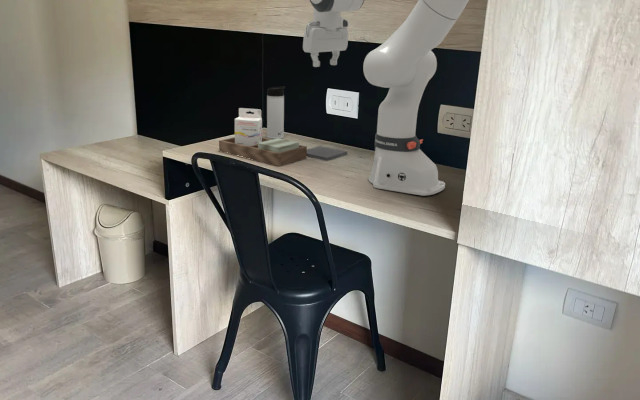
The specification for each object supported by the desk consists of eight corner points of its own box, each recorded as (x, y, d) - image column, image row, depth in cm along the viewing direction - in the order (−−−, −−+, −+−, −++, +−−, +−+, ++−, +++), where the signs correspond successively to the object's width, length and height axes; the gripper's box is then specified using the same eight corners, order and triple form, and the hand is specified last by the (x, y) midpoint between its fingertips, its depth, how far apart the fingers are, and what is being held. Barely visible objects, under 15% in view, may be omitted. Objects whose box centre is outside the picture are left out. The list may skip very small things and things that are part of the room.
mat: (347, 154, 193) (347, 151, 193) (327, 160, 184) (327, 157, 184) (319, 148, 200) (319, 145, 199) (298, 154, 191) (298, 151, 190)
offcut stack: (300, 159, 186) (300, 141, 184) (280, 166, 177) (280, 147, 175) (276, 154, 191) (276, 137, 189) (255, 161, 182) (255, 143, 180)
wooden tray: (306, 158, 186) (306, 146, 185) (279, 166, 176) (279, 154, 174) (247, 145, 201) (247, 134, 200) (219, 152, 191) (218, 140, 189)
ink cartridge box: (234, 153, 190) (233, 109, 186) (238, 149, 195) (237, 107, 190) (258, 154, 189) (258, 111, 184) (262, 151, 194) (262, 109, 189)
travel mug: (283, 141, 209) (284, 87, 202) (266, 141, 209) (266, 87, 202) (285, 138, 214) (285, 85, 208) (268, 137, 215) (268, 85, 208)
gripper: (314, 22, 169) (313, 68, 173) (352, 22, 185) (350, 64, 189) (298, 21, 172) (297, 66, 177) (336, 21, 188) (334, 63, 193)
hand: (325, 65), depth 183 cm, fingers open, 8 cm apart
